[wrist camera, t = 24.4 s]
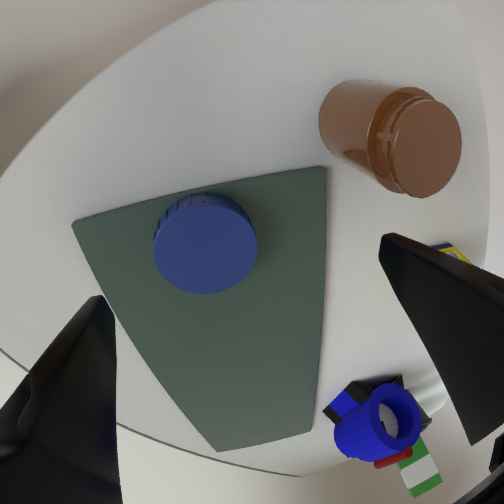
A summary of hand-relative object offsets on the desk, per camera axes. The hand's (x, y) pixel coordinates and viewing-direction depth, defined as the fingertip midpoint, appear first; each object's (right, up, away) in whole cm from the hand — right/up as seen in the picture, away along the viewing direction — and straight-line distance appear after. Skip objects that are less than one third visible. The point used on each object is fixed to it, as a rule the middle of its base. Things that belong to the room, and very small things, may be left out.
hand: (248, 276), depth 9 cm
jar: (+8, +10, +9) cm, 16 cm away
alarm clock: (+19, -24, +34) cm, 46 cm away
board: (-1, -15, +23) cm, 28 cm away
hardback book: (+38, -45, +53) cm, 79 cm away
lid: (-3, +1, +10) cm, 11 cm away
